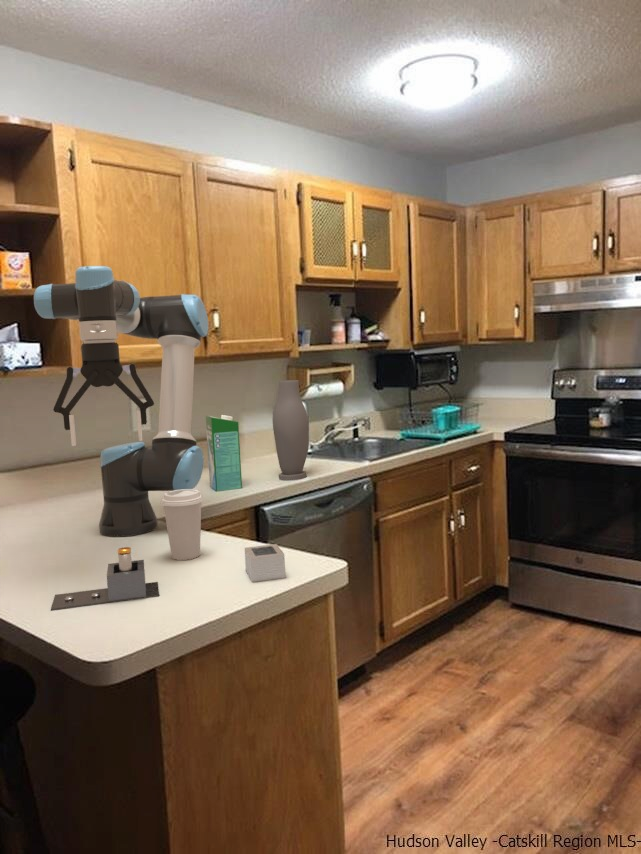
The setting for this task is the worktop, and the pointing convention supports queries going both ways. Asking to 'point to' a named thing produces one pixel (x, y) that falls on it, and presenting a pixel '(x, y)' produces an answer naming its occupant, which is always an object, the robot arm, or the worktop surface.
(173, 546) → the coffee cup
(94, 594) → the keeper
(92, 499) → the worktop surface
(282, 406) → the vase
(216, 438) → the milk carton
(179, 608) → the worktop surface
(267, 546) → the link
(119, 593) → the grey hollow block
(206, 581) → the worktop surface
